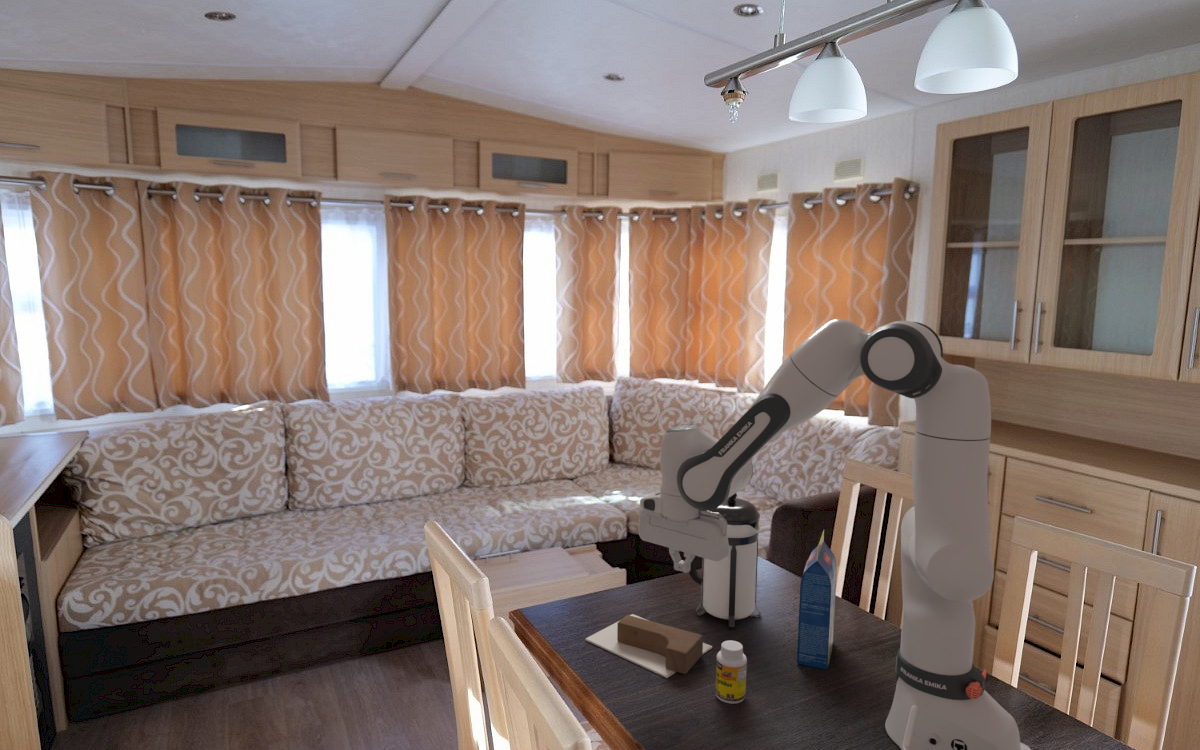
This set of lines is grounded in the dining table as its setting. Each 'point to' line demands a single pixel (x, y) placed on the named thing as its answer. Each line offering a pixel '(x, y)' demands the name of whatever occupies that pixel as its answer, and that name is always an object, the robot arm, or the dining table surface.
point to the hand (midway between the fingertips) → (682, 570)
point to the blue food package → (817, 608)
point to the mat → (633, 650)
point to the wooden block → (662, 641)
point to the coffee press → (732, 566)
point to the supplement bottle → (731, 672)
